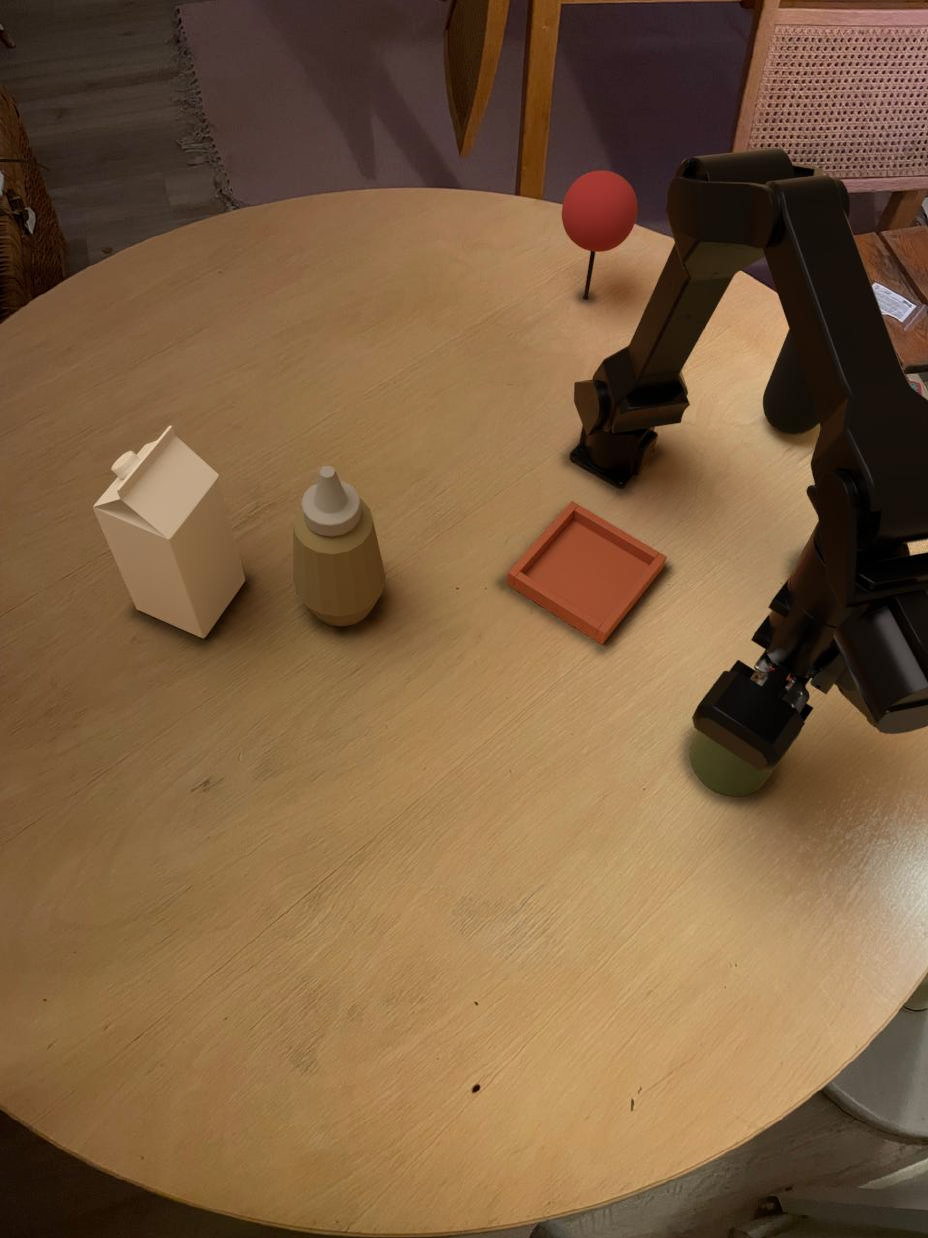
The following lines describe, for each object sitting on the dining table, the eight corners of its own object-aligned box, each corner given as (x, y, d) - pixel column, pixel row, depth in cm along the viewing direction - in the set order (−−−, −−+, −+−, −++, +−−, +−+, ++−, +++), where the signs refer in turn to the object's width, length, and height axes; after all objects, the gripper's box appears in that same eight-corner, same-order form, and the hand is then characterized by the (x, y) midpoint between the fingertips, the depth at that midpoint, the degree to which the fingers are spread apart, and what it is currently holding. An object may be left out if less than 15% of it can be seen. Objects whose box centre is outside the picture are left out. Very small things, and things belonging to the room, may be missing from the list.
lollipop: (630, 290, 118) (655, 172, 105) (599, 329, 114) (622, 212, 102) (571, 265, 120) (588, 146, 107) (539, 303, 116) (553, 184, 103)
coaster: (506, 583, 96) (507, 572, 94) (569, 512, 101) (572, 500, 99) (602, 644, 93) (605, 633, 91) (663, 568, 97) (667, 556, 96)
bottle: (674, 765, 87) (707, 700, 77) (714, 708, 90) (750, 639, 80) (745, 812, 85) (789, 752, 75) (784, 752, 88) (830, 687, 78)
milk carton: (246, 580, 95) (211, 441, 79) (204, 640, 91) (158, 507, 75) (180, 552, 96) (132, 409, 80) (136, 610, 93) (76, 473, 77)
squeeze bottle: (399, 578, 96) (396, 448, 80) (367, 649, 92) (356, 526, 76) (319, 553, 97) (300, 420, 82) (283, 622, 93) (256, 495, 78)
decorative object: (817, 453, 106) (872, 341, 93) (753, 443, 106) (799, 331, 94) (817, 406, 109) (869, 293, 97) (754, 397, 110) (799, 282, 97)
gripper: (886, 770, 59) (800, 862, 72) (1013, 564, 67) (915, 680, 80) (717, 662, 62) (665, 768, 76) (858, 478, 70) (788, 603, 84)
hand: (765, 704), depth 79 cm, fingers closed on cap, 4 cm apart
